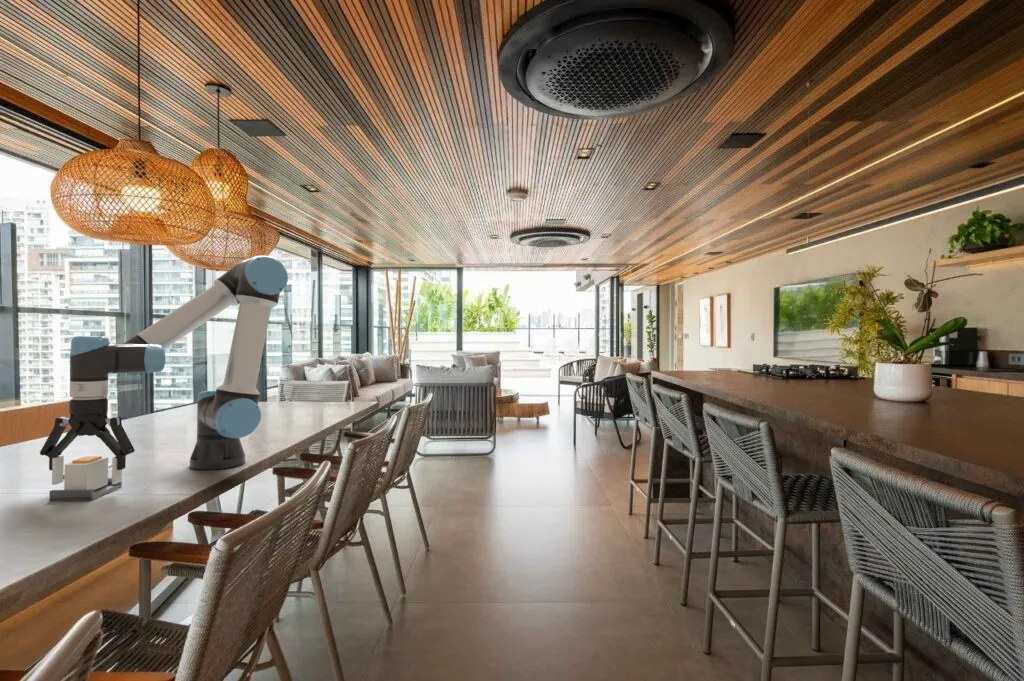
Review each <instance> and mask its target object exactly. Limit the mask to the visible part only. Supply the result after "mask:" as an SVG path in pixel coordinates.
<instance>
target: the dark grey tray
mask: <svg viewBox="0 0 1024 681" xmlns="http://www.w3.org/2000/svg"><path fill="white" fill-rule="evenodd" d="M122 484H123V480H122V481H121V482H119V483H117V484H112V477H108V485H105V486H103V487H101V488H98V489H96V490H94V489H90V490H64V489H52V490H49V494H48V495H49V496H48V498H49V501H63V502H91V500H92V501H94V500H96V499H98V498H97V497H99V498H101V497H103V496H105V495H107V494H109V492H110V493H111V491H112V492H114V491H117V490H118V488H119V489H121V488H122V487H123V486H122ZM120 487H121V488H120ZM113 490H114V491H113ZM106 493H107V494H106ZM104 494H105V495H104ZM102 495H103V496H102ZM100 496H101V497H100ZM95 498H96V499H95ZM93 499H94V500H93Z"/></svg>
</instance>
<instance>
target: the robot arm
mask: <svg viewBox="0 0 1024 681" xmlns="http://www.w3.org/2000/svg"><path fill="white" fill-rule="evenodd" d="M288 279H289V275H288V271H287V269H286V267H285V265H284V264H283V263H282V262H281V261H280V260H278V259H277V258H276V257H273V256H269V255H255V256H253V257H251V258H247V259H244V260H241V261H239V262H237V264H235V265H234V266H232V267H231V268H230V269H229V270H227V271H226V272H225V273H223V274H222V275H221V276H219V277H217V278H216V279H214V280H213V285H212V286H210V287H209V288H207V289H206V290H204V291H203V292H201V293H199V294H198V295H196V296H195V297H193V298H192V299H190V300H189V301H187V302H186V303H184V304H183V305H181V306H179V307H178V308H176V309H175V310H173V311H171V312H170V313H168V314H167V315H165V316H164V317H162V318H160V319H159V320H158V321H156V322H155V323H153V324H151V325H150V326H148V327H147V328H145V329H144V330H143V329H142V331H141V332H139V333H138V334H136V335H134V336H133V337H131V338H130V339H128V340H127V341H125V342H123V343H118V344H116V343H111V342H110V339H109V337H108V336H100V335H99V336H98V335H97V336H95V335H94V336H93V335H76V336H74V337H72V339H71V340H70V353H69V397H70V398H72V399H70V400H69V401H68V402H69V406H68V407H69V408H68V413H69V415H70V416H69V417H67V416H60V417H56V418H55V420H54V425H53V428H52V430H51V431H50V434H49V435H48V437H47V439H46V440H45V442H44V445H42V448H41V449H40V451H39V455H40V456H45V457H48V469H49V471H52V472H51V485H52V486H55V485H59V484H61V483H63V482H64V479H63V475H64V473H65V463H64V461H65V460H64V459H65V456H64V455H62V453H63V452H64V451H65V450H66V448H68V446H70V445H71V444H72V443H73V441H74V440H76V438H77V437H78V436H79V437H81V436H82V437H83V436H89V437H92V436H95V437H97V438H99V439H100V440H101V441H102V442H103V444H105V446H106V447H107V448H108V449H109V450H110V451H111V452H112V454H113V455H114V456H115V457H112V458H111V459H112V461H111V464H112V466H111V478H112V484H117V483H119V482H121V481H122V482H123V470H124V469H126V466H127V465H126V464H127V463H126V461H127V458H126V456H128V455H130V454H134V452H135V451H136V450H135V448H134V446H133V444H132V441H131V440H130V438H129V436H128V434H127V432H126V431H125V429H124V427H123V424H122V417H121V416H115V417H110V418H109V417H108V416H107V414H108V411H109V410H108V409H109V399H108V398H107V397H106V396H109V375H110V374H145V373H146V374H152V373H160V372H162V371H163V370H164V368H165V366H166V351H165V350H166V349H168V348H169V347H171V346H173V345H174V344H175V343H176V342H178V341H180V340H181V339H183V338H184V337H186V336H187V335H188V334H190V333H191V332H193V331H195V330H196V329H198V328H199V327H200V326H202V325H203V324H205V323H207V322H208V321H210V320H211V319H213V318H214V317H215V316H217V315H218V314H220V313H221V312H222V311H225V310H226V309H228V308H229V307H230V306H237V305H239V306H238V312H237V316H236V322H235V326H234V330H233V336H232V340H231V346H230V350H229V354H228V360H227V365H226V370H225V374H224V379H223V383H222V384H220V385H219V386H217V387H216V389H214V390H204V391H200V392H199V393H198V394H197V401H196V405H197V408H196V409H197V410H196V413H197V414H196V416H197V417H196V421H197V422H196V442H195V444H194V448H193V450H192V453H191V456H190V458H189V468H191V469H194V470H202V471H203V470H205V471H206V470H207V471H208V470H221V469H222V470H223V469H229V468H234V467H238V466H241V465H243V464H245V463H246V453H245V450H244V448H243V447H244V446H243V445H242V442H241V439H242V438H245V437H246V436H250V435H251V434H252V433H254V432H255V430H256V429H257V428H258V426H259V425H260V423H261V421H262V420H261V419H262V411H261V409H260V406H259V401H260V396H261V393H260V392H259V390H258V389H257V383H258V379H259V378H258V377H259V373H260V369H261V368H260V367H261V362H262V357H263V352H264V346H265V341H266V336H267V330H268V328H269V327H268V326H269V323H270V322H269V321H270V317H271V310H272V309H273V308H275V307H276V306H278V304H279V299H280V294H281V293H282V292H283V290H285V288H286V286H287V284H288ZM68 425H69V426H70V427H71V428H70V429H69V430H68V431H67V432H66V434H65V436H64V437H63V438H62V435H63V433H64V431H65V430H66V429H67V426H68ZM107 425H108V426H109V427H110V429H111V431H112V433H113V435H114V436H113V435H112V433H111V431H110V430H109V429H108V428H107V427H106V426H107ZM60 438H62V439H61V440H60Z"/></svg>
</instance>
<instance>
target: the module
mask: <svg viewBox="0 0 1024 681" xmlns="http://www.w3.org/2000/svg"><path fill="white" fill-rule="evenodd" d="M108 463H109V457H108V456H106V457H105V456H102V455H96V456H95V455H89V456H87V455H86V456H83V457H79V458H77V459H74V460H73V459H72V461H71V462H69V463H66V464H65V463H64V472H63V475H64V479H63V482H64V483H63V486H64V487H63V488H64V489H63V490H90V489H94V490H96V489H98V488H101V487H103V486H105V485H108V478H109V469H108Z"/></svg>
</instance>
